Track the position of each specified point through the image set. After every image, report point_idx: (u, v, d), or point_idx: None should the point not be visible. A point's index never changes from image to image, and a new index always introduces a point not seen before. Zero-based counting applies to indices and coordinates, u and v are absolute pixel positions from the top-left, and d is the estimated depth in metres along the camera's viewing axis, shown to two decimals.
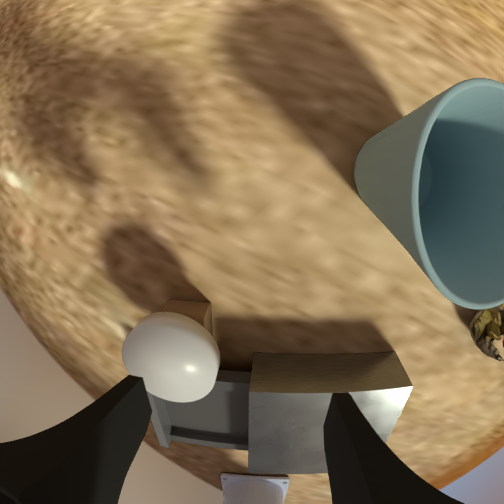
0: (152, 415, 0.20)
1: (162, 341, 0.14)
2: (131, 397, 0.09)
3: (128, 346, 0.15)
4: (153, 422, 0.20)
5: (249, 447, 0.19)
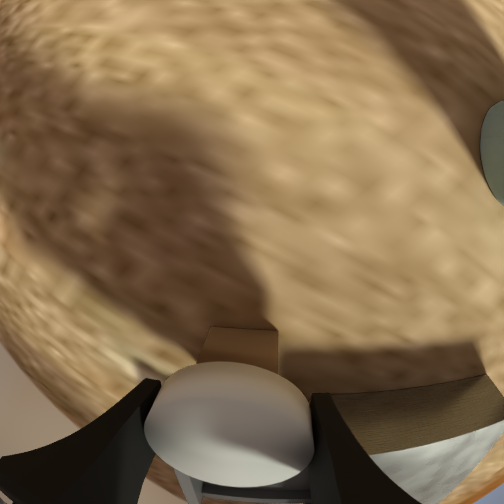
0: (181, 479, 0.13)
1: (225, 418, 0.07)
2: (149, 400, 0.09)
3: (157, 422, 0.08)
4: (182, 485, 0.13)
5: None
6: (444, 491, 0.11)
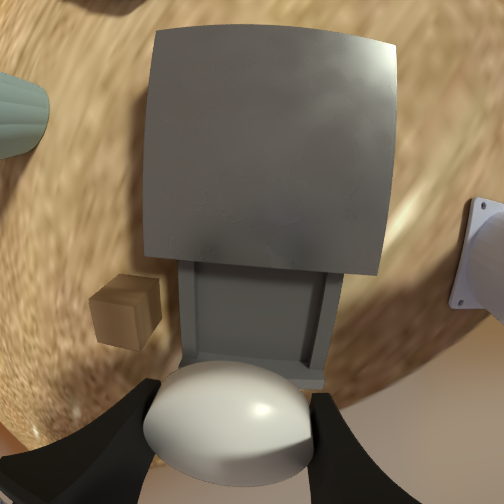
0: None
1: (224, 418, 0.07)
2: (149, 401, 0.09)
3: (155, 422, 0.08)
4: None
5: (283, 267, 0.13)
6: (339, 49, 0.10)
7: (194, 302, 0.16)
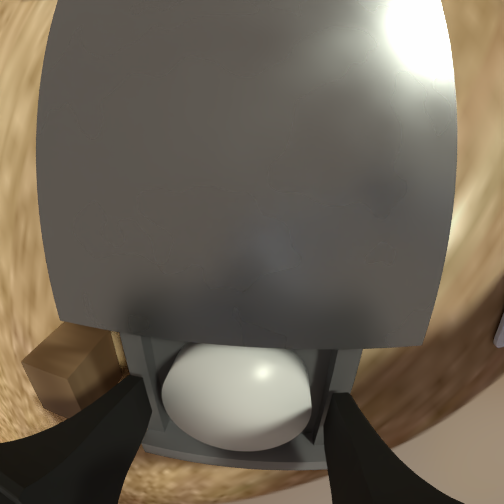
0: (227, 464, 0.11)
1: (234, 376, 0.09)
2: (131, 396, 0.09)
3: (174, 384, 0.09)
4: (248, 467, 0.11)
5: (266, 345, 0.07)
6: None
7: (148, 371, 0.10)
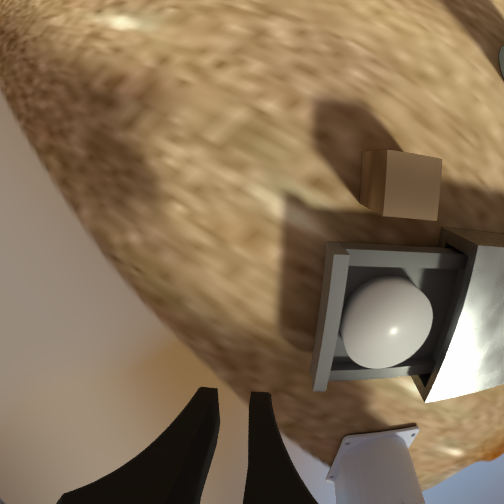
0: (329, 327, 0.15)
1: (418, 330, 0.15)
2: (210, 410, 0.09)
3: (416, 296, 0.14)
4: (324, 342, 0.15)
5: (448, 350, 0.14)
6: None
7: (410, 266, 0.15)
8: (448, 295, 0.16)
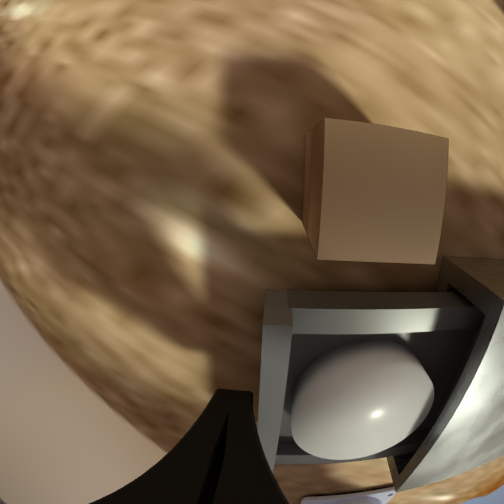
0: (265, 421, 0.09)
1: (409, 417, 0.09)
2: (230, 413, 0.08)
3: (411, 377, 0.08)
4: (260, 436, 0.09)
5: (434, 445, 0.08)
6: None
7: (405, 330, 0.09)
8: (460, 358, 0.10)
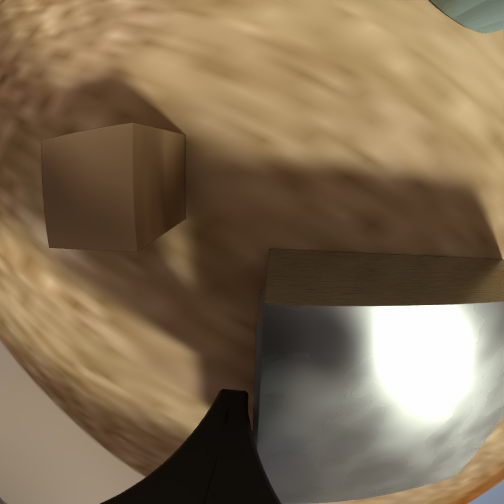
0: None
1: None
2: (234, 413, 0.08)
3: None
4: (255, 436, 0.09)
5: None
6: (466, 452, 0.08)
7: None
8: None
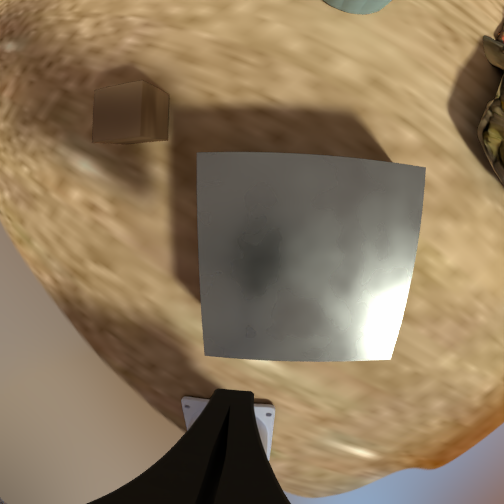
0: None
1: None
2: (229, 413, 0.08)
3: None
4: None
5: (201, 285, 0.15)
6: (386, 321, 0.15)
7: None
8: None
